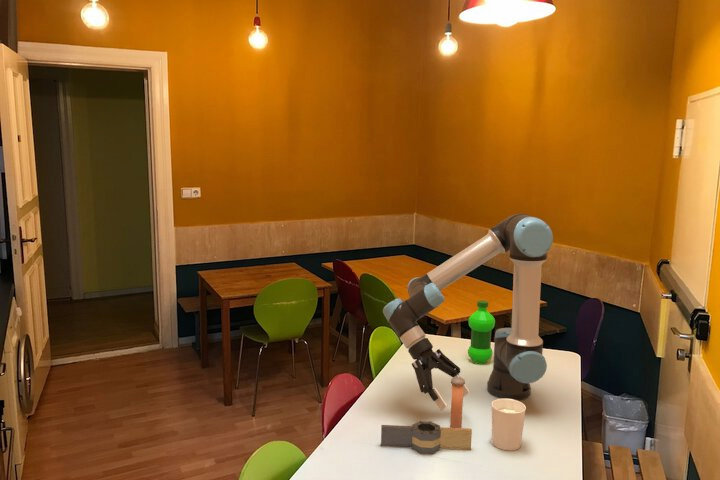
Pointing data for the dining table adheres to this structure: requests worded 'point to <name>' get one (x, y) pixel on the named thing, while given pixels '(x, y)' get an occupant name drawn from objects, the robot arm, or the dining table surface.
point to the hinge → (426, 437)
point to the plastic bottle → (481, 334)
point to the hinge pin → (456, 402)
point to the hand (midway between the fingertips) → (455, 401)
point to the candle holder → (507, 423)
